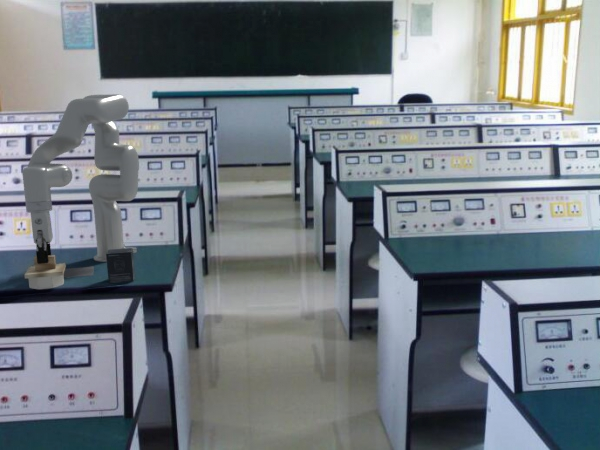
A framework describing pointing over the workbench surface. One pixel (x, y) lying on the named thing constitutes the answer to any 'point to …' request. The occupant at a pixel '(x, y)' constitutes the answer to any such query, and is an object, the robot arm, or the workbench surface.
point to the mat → (78, 272)
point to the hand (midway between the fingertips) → (44, 259)
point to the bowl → (46, 282)
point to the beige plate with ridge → (45, 268)
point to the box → (120, 265)
